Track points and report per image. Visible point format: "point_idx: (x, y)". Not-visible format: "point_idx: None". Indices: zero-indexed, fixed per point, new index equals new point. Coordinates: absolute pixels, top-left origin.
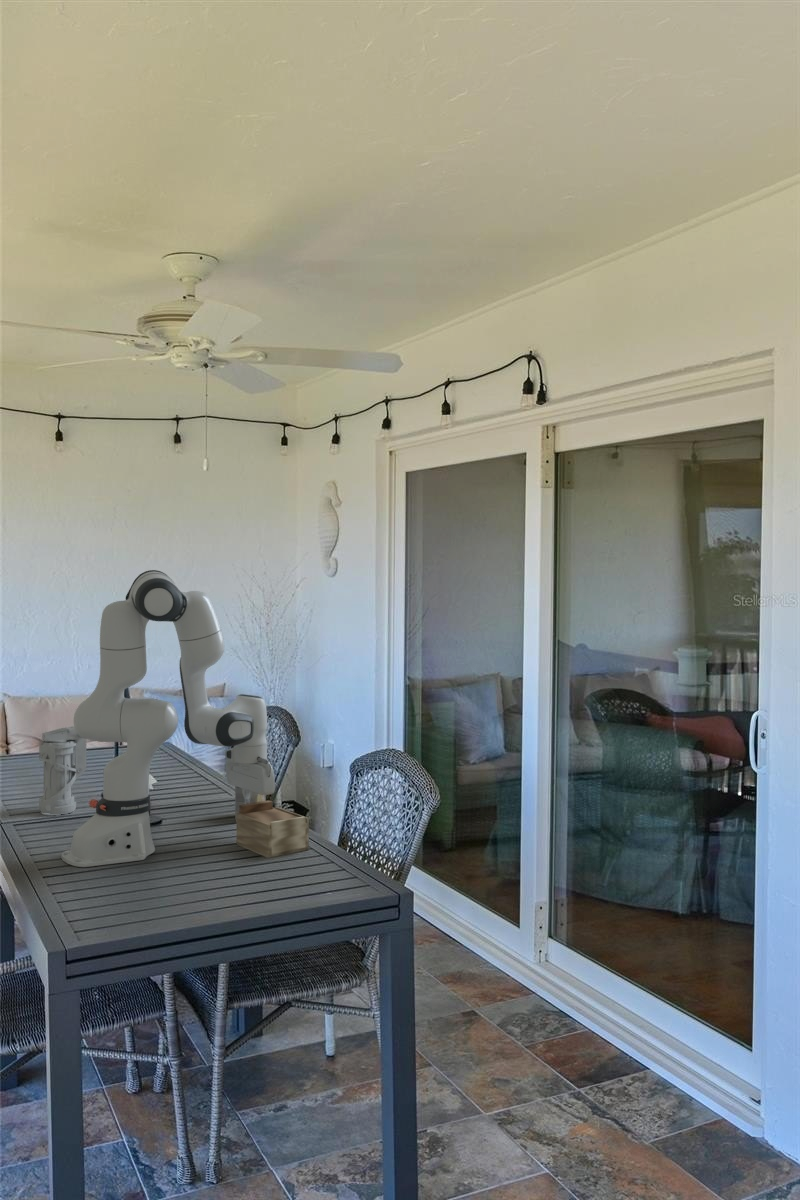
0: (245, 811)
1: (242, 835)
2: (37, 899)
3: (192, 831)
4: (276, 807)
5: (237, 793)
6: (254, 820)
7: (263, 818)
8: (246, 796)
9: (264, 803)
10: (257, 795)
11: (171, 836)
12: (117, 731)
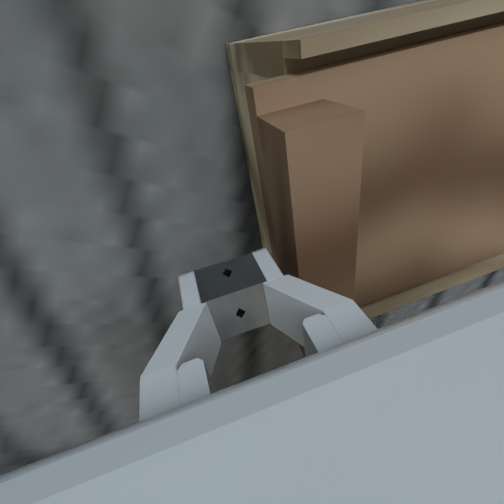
0: None
1: None
2: None
3: (4, 369)
4: (330, 50)
5: None
6: (471, 275)
7: (473, 231)
8: (209, 355)
9: (357, 205)
10: (336, 297)
11: (79, 408)
12: None
